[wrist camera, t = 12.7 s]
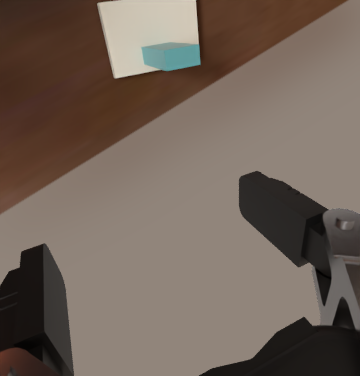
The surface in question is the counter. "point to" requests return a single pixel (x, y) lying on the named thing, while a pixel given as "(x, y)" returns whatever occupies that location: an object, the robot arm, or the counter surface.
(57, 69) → the counter surface
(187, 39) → the teal block on base
